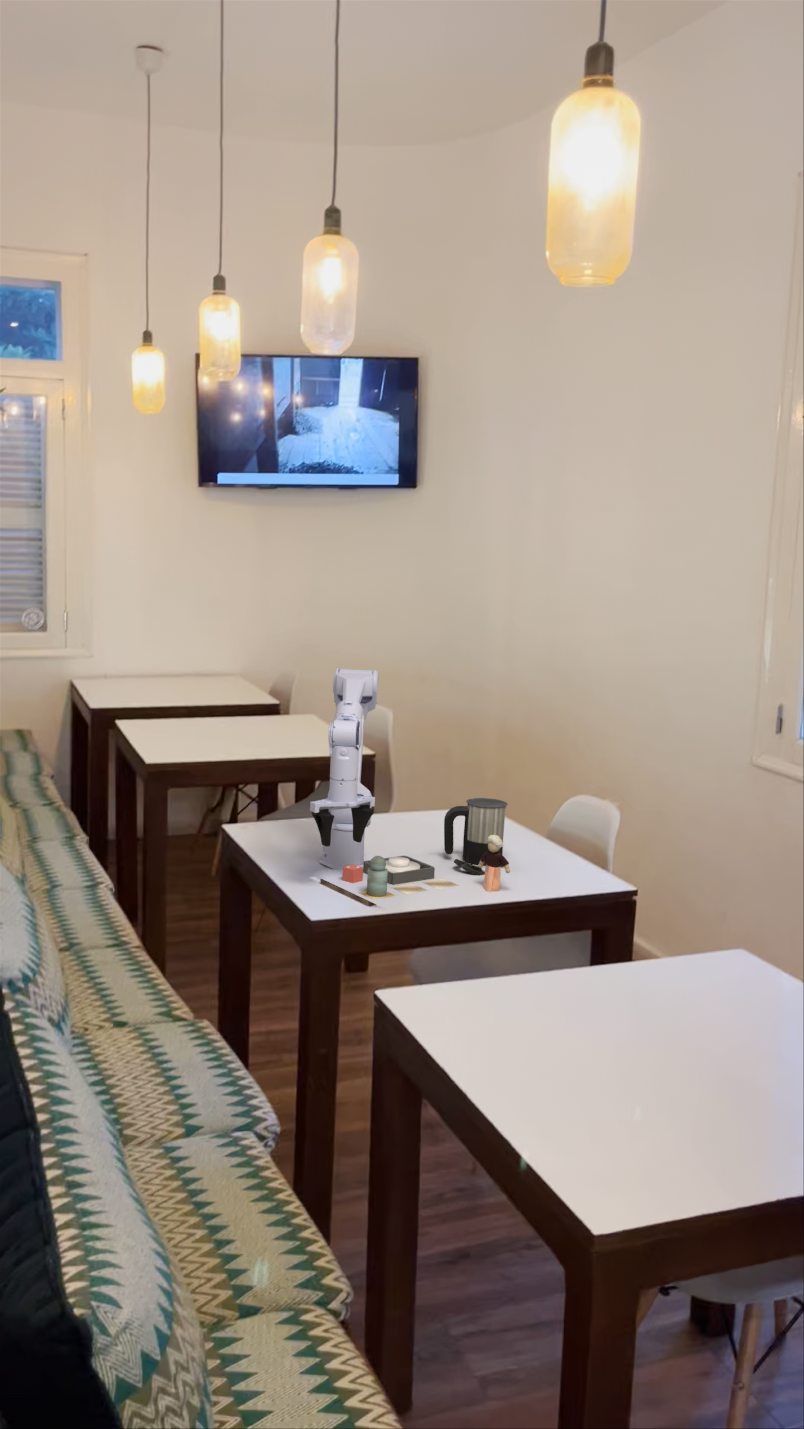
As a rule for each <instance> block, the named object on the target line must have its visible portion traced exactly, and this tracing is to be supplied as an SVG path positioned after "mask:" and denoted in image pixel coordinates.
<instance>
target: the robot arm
mask: <svg viewBox="0 0 804 1429" xmlns="http://www.w3.org/2000/svg"><path fill="white" fill-rule="evenodd" d="M379 679H380V678H379V672H378V670H377V669H354V668H353V669H352V668H340V667H337V668H336V669H334V671H333V679H332V692H333V700H334V703H335V704H334V705H335V713H334V718H333V722H331V721H330V723H329V726H328V747H329V757H330V764H329V765H330V768H329V790H328V792H327V797H326V798H323V799H318V800H315V801H310V802H309V804H310V805H309V811H310V812H311V815H312V817H313V819H314V821H315V824H316V826H317V829H318V832H319V836H320V840H321V842H320V843H321V845H322V859H321V860H319V864H322V865H323V866H326V867H327V868H330V869H333V870H335V869H343V867H345V866H349V865H356V866H363V863H364V861H365V860H364V859H365V858H364V856H365V853H364V852H365V834H366V833H365V832H366V831H365V830H366V828H368V827H369V826H370V825H371V822H372V816H373V814H374V808H373V807H375V806H376V805H375V803H376V797H375V796H373V795H372V792H371V791H370V790H369V789H368V787H366V786H365V785H363V784H362V783H361V779H362V777H361V776H362V762H363V749H364V735H365V734H364V732H365V723H366V719H367V716H368V713H369V712H372V711H374V710H375V709H376V707H377V705H378V695H379V694H378V693H379Z"/></svg>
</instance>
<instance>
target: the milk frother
mask: <svg viewBox="0 0 804 1429" xmlns="http://www.w3.org/2000/svg"><path fill="white" fill-rule="evenodd" d="M465 803H466V805H455V806H453V807H451V808H449V809H448V811H447V812H446V813H445V816H444V819H443V822H444V823H443V825H444V826H443V830H444V832H443V834H444V835H443V837H444V839H443V842H444V846H443V847H444V853H445V854H446V855H452V854H453V853H454V821H455V819H456V818H457V817H459V816H460V817H464V827H463V828H464V829H463V841H462V843H463V845H462V846H463V847H462V859H463V860H461V859H459V858H457V859H454V861H453V863H454V864H455V865H456V866H458V867H459V868H461V869H462V870H464V871H467V873H468V874H474V875H477V876H485V869H482V868H483V867H486V862H485V863H484V864H483V867H482V868H480V867H479V866H478V864H479V862H480V859H481V857H482V856H483V854H484V853H486V852H487V851H490V850H489V849H488V841H487V840H488V837H489V836H490V835H497V836H499V838H500V839H501V840H502V842H503V843H504V836H505V835H504V832H505V830H504V829H505V821H506V820H505V818H506V817H505V816H506V809H507V805H508V802H507V801H505V800H502V799H498V798H497V799H496V798H487V797H486V798H485V797H473V798H468V799H466V802H465ZM503 850H504V846H502V847H501V848H500V850H499V851H498V852H499V853H500V854H501V855H503V852H504V851H503ZM501 868H504V867H503V866H502V865H501Z"/></svg>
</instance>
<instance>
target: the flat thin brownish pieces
mask: <svg viewBox="0 0 804 1429" xmlns="http://www.w3.org/2000/svg"><path fill="white" fill-rule="evenodd" d="M421 883H422V884H423V885H427V886H429V887H432V888H434V889H437V890H440V889H445V888H446V889H447V888H454V887H458V886H460V884H457V883H454V882H452V881H449V880H447V879H445V878H439V879H430V880H424V881H421ZM320 884H321V885H323V886H325V887H327V888H329V889H331V890H333V891H335V892H336V893H339V894H341V895H344V896H345V897H347V898H350V899H352V900H354V901H356V902H358V903H360V904H363V905H364V906H367V907H372V906H377V904H376V903H375V902H373V901H370V900H367V899H365V898H363V897H362V896H364V897H366V898H368V899H371V900H379V899H385V898H393V897H396V896H397V895H396V894H393V893H391V892H389V891H387V895H386V896H383V897H373V896H369V895H367V890H364V891H363V890H362V891H358V892H357V893H358V894H360V895H362V896H359V895H357V894H355V893H353V892H351V891H349V890H346V889H345V888H342V887H341V886H338V885H337V884H336V885H335V884H333V883H331V882H329V881H327V880H325V879H323V878H320ZM390 889H393V890H395V891H398V892H400V893H402V894H405V895H408V894H409V895H410V894H416V893H423V892H427V891H429V889H426V888H425V887H421V886H419V885H417V884H415V883H405V884H399V885H392V886H390Z"/></svg>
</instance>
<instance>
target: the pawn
mask: <svg viewBox="0 0 804 1429" xmlns="http://www.w3.org/2000/svg"><path fill="white" fill-rule="evenodd" d="M384 858H385V857H383V856H381V855H375V856H374V857H372V858H371V859H370V860H371V861H370V867H371V868H368V874H367V877H366V878H367V879H366V880H367V881H366V883H367V884H366V891H367V895H369V896H373V897H383V896H386V895H387V892H388V883H387V876H388V870H387V869H386V868H385V867H386V861H385V859H384Z"/></svg>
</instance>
